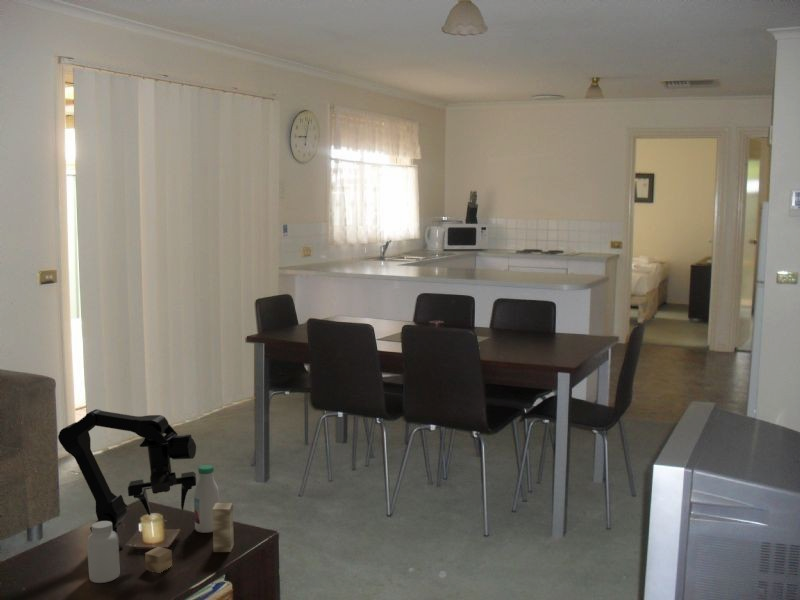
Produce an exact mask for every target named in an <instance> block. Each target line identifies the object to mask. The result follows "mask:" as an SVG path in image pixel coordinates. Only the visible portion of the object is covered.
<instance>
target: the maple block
mask: <svg viewBox="0 0 800 600" xmlns="http://www.w3.org/2000/svg"><path fill="white" fill-rule="evenodd" d="M233 508H234V503H233V502H220V503H215V505H214V507H213V509H212V516H213V532H212V545H213V546H212V548H213V549H212V550H213V551H212V552H213V553H231V552H232V550H233V549H234V543H235V542H234V541H235V540H234V538H235V537H234V509H233Z"/></svg>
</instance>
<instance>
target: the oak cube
mask: <svg viewBox="0 0 800 600" xmlns="http://www.w3.org/2000/svg"><path fill="white" fill-rule="evenodd" d="M144 555H145V556H144V557H145V558H144V559H145V570H146V569H147V570H149V571H148V572H151V571H153V572H152V573H154V572H156V573H155V574H157V573H160V574H161V572H162V573H163V571H164V570H166V569H167V570H169V569H170V567H171V566H172V567H173V551H172V549H168V548H165V547H162V546H159V545H158V546H157V547H154V548H152V549H151V550H148V551H147V552H145V553H144ZM172 567H171V568H172ZM168 568H169V569H168ZM147 570H146V571H147ZM167 570H166V571H167ZM164 572H165V571H164Z"/></svg>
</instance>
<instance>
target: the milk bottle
mask: <svg viewBox="0 0 800 600" xmlns="http://www.w3.org/2000/svg"><path fill="white" fill-rule="evenodd" d="M197 471H198V476H199V477H198V480H197V482H196V485H195V488H194V492H193V493H194V494H193V498H194V499H193V503H194V504H193V505H194V506H193V507H194V529H195V531H196V532H197V533H202V534H206V533H209V534H210V533H213V516H212V509H213V507H214V505H215V503H221V502H220V490H219V487H218V485H217V482H216V481H215V478H214V473H215V472H214V466H213V465H211V464H204V465H203V464H202V465H200V466H199V467H198V470H197Z"/></svg>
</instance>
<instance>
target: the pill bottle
mask: <svg viewBox="0 0 800 600" xmlns="http://www.w3.org/2000/svg"><path fill="white" fill-rule="evenodd" d="M90 528H92V532H91V534H90V535H89V536H88V537H87V540H86V547H87V548H86V549H87V565H88V567H87V568H88V576H89V580H90V581H91V583H96V584H103V583H108V582H112V581H114V580H116V579H118V577H120V574H121V569H120V567H121V566H120V565H121V564H120V550H119V545H120V544H119V535H118V532H117V533H116V532H114V531H112V528H113V527H112V522H110V521H100V522H97V521H95V522H94V523H93V524H92V525H91V526H90Z"/></svg>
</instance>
